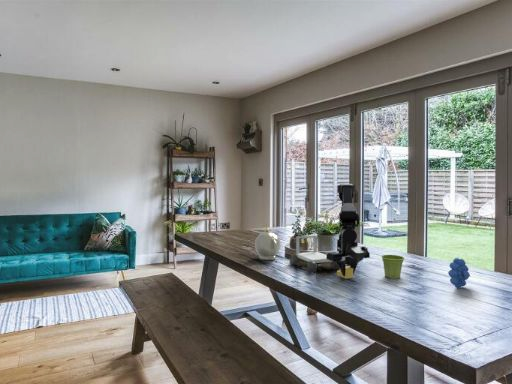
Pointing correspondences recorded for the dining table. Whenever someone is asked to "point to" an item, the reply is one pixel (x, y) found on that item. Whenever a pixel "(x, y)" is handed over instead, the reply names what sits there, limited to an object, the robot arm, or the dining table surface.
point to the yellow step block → (346, 273)
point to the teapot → (267, 245)
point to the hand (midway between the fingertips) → (348, 275)
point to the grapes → (458, 273)
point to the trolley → (311, 256)
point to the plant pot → (392, 265)
